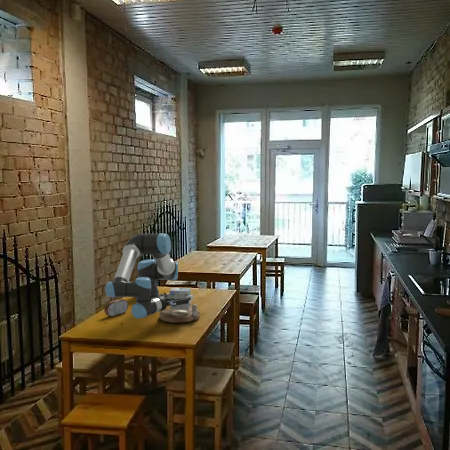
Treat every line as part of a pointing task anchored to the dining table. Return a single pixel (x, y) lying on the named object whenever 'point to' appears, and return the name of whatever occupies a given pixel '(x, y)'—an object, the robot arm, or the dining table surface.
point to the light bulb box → (180, 293)
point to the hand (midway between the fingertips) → (183, 295)
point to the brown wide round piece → (180, 315)
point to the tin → (116, 307)
